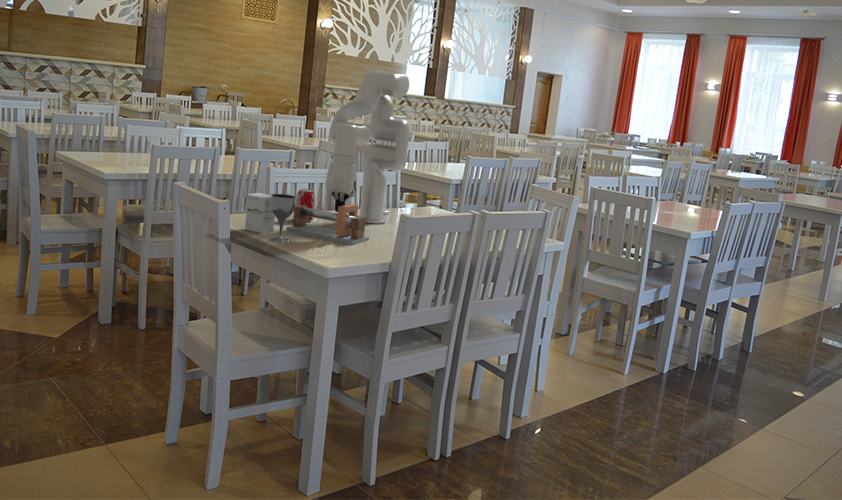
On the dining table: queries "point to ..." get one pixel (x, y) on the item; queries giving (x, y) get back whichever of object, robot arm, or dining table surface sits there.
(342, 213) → the ring
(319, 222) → the dining table surface
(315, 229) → the board
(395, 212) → the dining table surface
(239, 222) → the dining table surface
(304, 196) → the soda can
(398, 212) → the dining table surface
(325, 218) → the pipe
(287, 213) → the wine glass
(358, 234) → the posts
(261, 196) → the supplement box
